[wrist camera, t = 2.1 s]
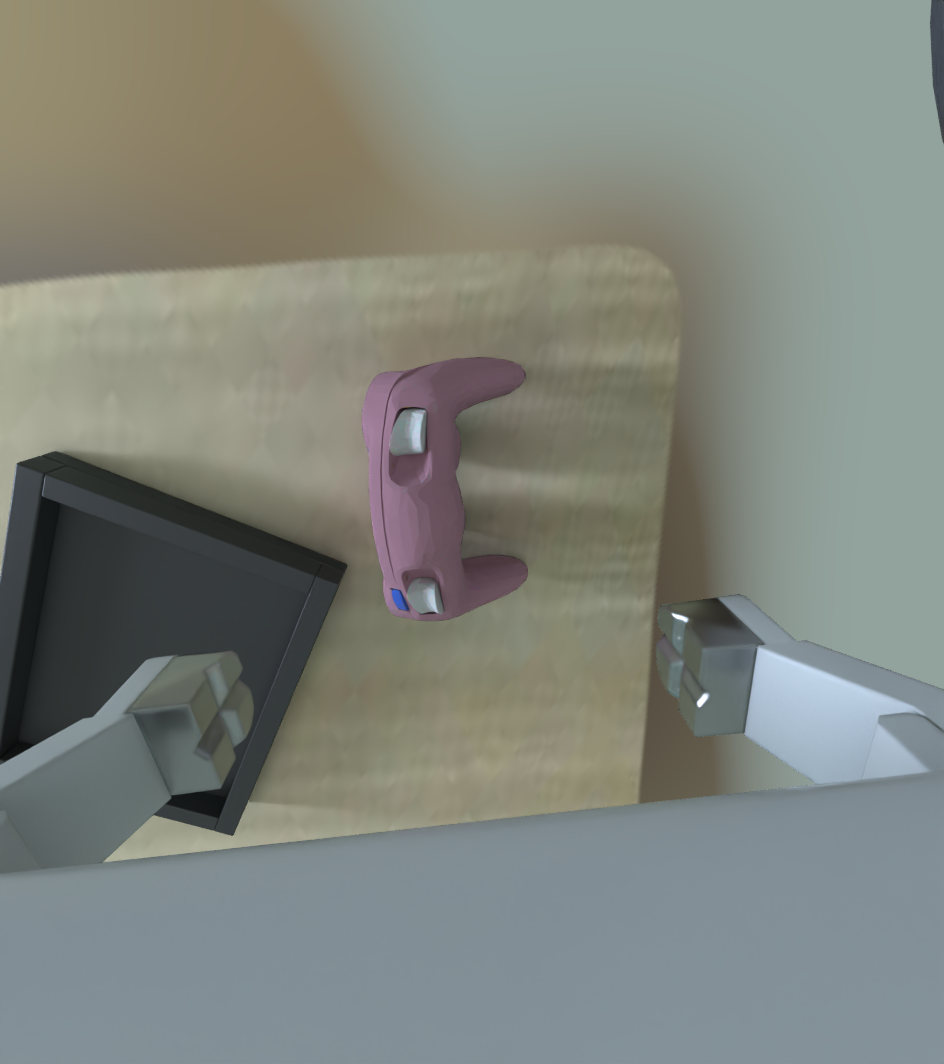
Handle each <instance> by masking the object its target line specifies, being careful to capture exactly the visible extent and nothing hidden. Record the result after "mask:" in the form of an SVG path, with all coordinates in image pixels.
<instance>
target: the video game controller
mask: <svg viewBox="0 0 944 1064" xmlns="http://www.w3.org/2000/svg"><path fill="white" fill-rule="evenodd" d="M525 378H526V373H525V370H524V369H523V368H522V367H521V365H519V364H516V363H514V362H512V361H508V360H503V359H495V358H483V357H477V358H465V359H451V360H446V361H441V362H437V363H433V364H430V365H426V366H422V367H418V368H415V369H411V370H407V371H396V372H384V373H381V374H379V375H377V376H376V377H375V378H374V379H373V381H372V382H371V384H370V386H369V388H368V391H367V393H366V397H365V402H364V406H363V410H362V430H363V435H364V439H365V443H366V446H367V450H368V452H369V497H370V508H371V518H372V528H373V533H374V538H375V543H376V549H377V554H378V558H379V562H380V566H381V570H382V573H383V575H384V580H383V594H384V598H385V602H386V605H387V607H388V609H389V610H390V612H391V613H392V614H394V615H395V616H398V617H403V618H409V619H415V620H419V621H443V620H449V619H452V618H455V617H458V616H460V615H462V614H465V613H467V612H469V611H471V610H473V609H475V608H477V607H480V606H482V605H484V604H487V603H489V602H491V601H493V600H496V599H498V598H500V597H503V596H505V595H507V594H509V593H511V592H513V591H514V590H516V589H517V588H518V587H519V586H520V585H521V584H522V583H523V582H524V581H525V580H526V578H527V575H528V567H527V565H526V564H525V563H524V562H522V561H521V560H520V559H517V558H514V557H508V556H504V555H486V556H480V557H473V558H467V559H462V558H461V543H462V538H463V534H464V530H465V510H464V507H463V502H462V497H461V492H460V488H459V485H458V481H457V478H456V474H455V471H456V469H457V467H458V464H459V458H460V447H461V442H460V434H459V431H458V429H457V427H456V425H455V419H456V417H457V415H458V414H459V413H460V412H461V411H463V410H465V409H467V408H469V407H471V406H473V405H475V404H477V403H480V402H483V401H487V400H490V399H493V398H497V397H500V396H503V395H506V394H509V393H511V392H512V391H514V390H515V389H516V388H518V387H519V386H520V385H521V384H522V383H523V381H524V380H525Z"/></svg>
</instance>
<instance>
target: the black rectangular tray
mask: <svg viewBox="0 0 944 1064" xmlns="http://www.w3.org/2000/svg"><path fill="white" fill-rule="evenodd" d="M346 568H347V564H345V563H342V562H340V561H337V560H334V559H332V558H329V557H327V556H324V555H322V554H319V553H316V552H314V551H311V550H309V549H306V548H304V547H301V546H298V545H296V544H293V543H291V542H288V541H286V540H283V539H280V538H278V537H275V536H273V535H270V534H268V533H265V532H262V531H260V530H257V529H255V528H252V527H249V526H247V525H244V524H242V523H239V522H237V521H234V520H231V519H229V518H226V517H224V516H221V515H219V514H216V513H213V512H211V511H208V510H206V509H203V508H201V507H198V506H195V505H193V504H190V503H188V502H185V501H183V500H180V499H177V498H175V497H172V496H170V495H167V494H165V493H162V492H159V491H157V490H154V489H152V488H149V487H147V486H144V485H141V484H139V483H136V482H134V481H131V480H129V479H126V478H123V477H121V476H118V475H116V474H113V473H111V472H108V471H105V470H103V469H100V468H98V467H95V466H93V465H90V464H87V463H85V462H82V461H80V460H77V459H74V458H72V457H69V456H67V455H64V454H62V453H59V452H56V451H54V452H51V453H48V454H44V455H42V456H38V457H35V458H32V459H28V460H25V461H22V462H19V463H17V464H16V469H15V476H14V484H13V491H12V498H11V505H10V512H9V519H8V526H7V533H6V540H5V548H4V555H3V562H2V569H1V576H0V765H1V764H3V763H5V762H6V761H8V760H10V759H12V758H14V757H15V756H17V755H19V754H21V753H23V752H24V751H26V750H28V749H30V748H31V747H33V746H35V745H37V744H39V743H40V742H42V741H44V740H46V739H48V738H49V737H51V736H53V735H55V734H57V733H58V732H60V731H62V730H64V729H66V728H67V727H69V726H71V725H73V724H75V723H76V722H78V721H80V720H82V719H83V718H91V717H93V716H94V715H95V714H96V713H97V712H98V711H99V710H100V709H101V708H102V707H103V706H104V705H105V704H106V703H107V701H108V700H109V699H110V698H111V697H112V696H113V695H114V694H115V693H116V692H117V691H118V690H119V689H120V688H121V686H122V685H123V684H124V683H125V682H126V681H127V680H128V679H129V678H130V677H131V676H132V675H133V674H134V672H135V671H136V670H137V669H138V668H139V667H140V666H141V665H142V664H143V663H144V662H145V661H146V660H148V659H151V658H155V657H163V656H171V655H183V654H194V653H206V652H217V651H229V650H231V651H233V652H235V653H236V654H238V657H239V659H240V662H241V664H242V667H243V670H242V672H241V674H240V676H239V678H238V679H239V680H240V681H242V682H243V683H244V684H246V685H247V686H248V687H249V688H250V691H251V694H252V697H253V705H254V714H253V720H252V726H251V728H250V730H249V732H248V735H247V737H246V738H245V739H244V740H243V741H242V742H240V743H239V744H238V745H237V746H235V747H234V748H233V750H234V753H235V756H236V759H235V761H234V763H233V765H232V767H231V769H230V771H229V773H228V775H227V777H226V779H225V781H224V783H223V785H222V787H221V789H215V790H207V791H200V792H193V793H186V794H178V795H171V799H170V800H169V801H168V802H167V803H165V804H164V805H163V806H162V807H161V808H160V809H159V810H158V811H157V812H156V813H155V814H154V815H156V816H160V817H163V818H167V819H171V820H175V821H179V822H182V823H186V824H190V825H194V826H198V827H202V828H205V829H209V830H215V831H216V832H220V833H224V834H228V835H231V836H233V835H234V833H235V830H236V828H237V826H238V823H239V821H240V819H241V816H242V814H243V812H244V809H245V807H246V805H247V802H248V800H249V798H250V795H251V793H252V790H253V788H254V786H255V783H256V781H257V779H258V776H259V774H260V772H261V769H262V767H263V764H264V762H265V760H266V757H267V755H268V753H269V750H270V748H271V746H272V743H273V741H274V738H275V736H276V734H277V731H278V729H279V727H280V724H281V722H282V719H283V717H284V715H285V712H286V710H287V708H288V705H289V703H290V701H291V698H292V696H293V693H294V691H295V689H296V686H297V684H298V682H299V679H300V677H301V674H302V672H303V670H304V667H305V665H306V663H307V660H308V658H309V656H310V653H311V651H312V648H313V646H314V644H315V641H316V639H317V637H318V634H319V632H320V629H321V627H322V625H323V622H324V620H325V618H326V615H327V613H328V611H329V608H330V606H331V603H332V601H333V599H334V596H335V594H336V592H337V589H338V587H339V585H340V582H341V580H342V577H343V575H344V573H345V570H346Z"/></svg>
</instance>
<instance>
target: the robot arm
mask: <svg viewBox="0 0 944 1064" xmlns="http://www.w3.org/2000/svg"><path fill="white" fill-rule="evenodd" d="M657 621H658V622H657V624H658V626H659V627H660V629H661V630H662V632H663V633H664V635H663V636H662V637H661V638H660V640H659V641H658V642H657V643H656V661H657V667H658V673H659V675H660V678H661V680H662V683H663V685H664V686H665V688H666V690H667V692H668V693H670V694H672V695H674V696H675V697H677V698H679V711H680V713H681V714H682V716H683V718H684V719H685V721H686V723H687V724H688V726H689V727H690V729H691V731H692V732H693V734H694V735H695V737H702V736H715V735H727V734H739V733H745V736H747V737H748V738H749V739H751V740H752V741H754V742H755V743H757V744H758V745H759V746H761V747H762V748H764V749H766V750H767V751H768V752H770V753H771V754H773V755H774V756H776V757H777V758H779V759H780V760H781V761H783V762H785V763H786V764H787V765H789V766H790V767H792V768H793V769H795V770H796V771H798V772H799V773H801V774H802V775H804V776H806V777H807V778H808V779H810V780H811V781H813V782H814V783H815V784H814V785H805V786H797V787H788V788H779V789H770V790H762V791H753V792H744V793H735V794H725V795H717V796H707V797H697V798H688V799H679V800H670V801H660V802H652V803H642V804H633V805H623V806H614V807H605V808H596V809H586V810H577V811H568V812H559V813H549V814H540V815H531V816H522V817H512V818H503V819H494V820H485V821H476V822H467V823H458V824H449V825H440V826H431V827H422V828H413V829H404V830H395V831H386V832H377V833H368V834H359V835H350V836H341V837H332V838H323V839H314V840H305V841H296V842H287V843H278V844H269V845H259V846H250V847H241V848H232V849H223V850H214V851H205V852H195V853H186V854H177V855H168V856H159V857H150V858H141V859H131V860H122V861H113V862H104V863H102V862H103V861H104V860H105V859H106V858H108V857H109V856H110V855H111V854H112V853H113V852H114V851H115V850H116V849H117V848H118V847H119V846H120V845H121V844H123V843H124V842H125V841H126V840H127V839H128V838H129V837H130V836H131V835H132V834H133V833H134V832H135V831H136V830H138V829H139V828H140V827H141V826H142V825H143V824H144V823H145V822H146V821H147V820H148V819H149V818H150V817H152V816H153V815H154V814H155V813H156V812H157V811H158V810H159V809H160V808H161V807H162V806H163V805H164V804H165V803H167V802H168V801H169V800H170V799H171V795H178V794H186V793H193V792H200V791H207V790H215V789H221V787H222V785H223V783H224V781H225V779H226V777H227V775H228V773H229V771H230V769H231V767H232V765H233V763H234V761H235V759H236V756H235V753H234V750H233V748H234V747H235V746H237V745H238V744H239V743H240V742H242V741H243V740H244V739H245V738H246V737H247V735H248V732H249V730H250V728H251V726H252V720H253V714H254V705H253V697H252V694H251V691H250V688H249V687H248V686H247V685H246V684H244V683H243V682H242V681H240V680H239V679H238V678H239V676H240V674H241V672H242V670H243V667H242V664H241V662H240V659H239V657H238V654H236V653H235V652H233V651H231V650H229V651H217V652H206V653H194V654H183V655H171V656H163V657H155V658H151V659H148V660H146V661H145V662H144V663H143V664H142V665H141V666H140V667H139V668H138V669H137V670H136V671H135V672H134V674H133V675H132V676H131V677H130V678H129V679H128V680H127V681H126V682H125V683H124V684H123V685H122V686H121V688H120V689H119V690H118V691H117V692H116V693H115V694H114V695H113V696H112V697H111V698H110V699H109V700H108V701H107V703H106V704H105V705H104V706H103V707H102V708H101V709H100V710H99V711H98V712H97V713H96V714H95V715H94V716H93V717H91V718H83V719H82V720H80V721H78V722H76V723H75V724H73V725H71V726H69V727H67V728H66V729H64V730H62V731H60V732H58V733H57V734H55V735H53V736H51V737H49V738H48V739H46V740H44V741H42V742H40V743H39V744H37V745H35V746H33V747H31V748H30V749H28V750H26V751H24V752H23V753H21V754H19V755H17V756H15V757H14V758H12V759H10V760H8V761H6V762H5V763H3V764H1V765H0V1064H944V689H941V688H938V687H935V686H933V685H930V684H927V683H924V682H921V681H918V680H916V679H913V678H910V677H907V676H904V675H902V674H899V673H896V672H893V671H891V670H888V669H885V668H882V667H879V666H877V665H874V664H870V663H868V662H865V661H862V660H860V659H857V658H854V657H851V656H848V655H846V654H843V653H840V652H837V651H834V650H832V649H829V648H826V647H823V646H820V645H817V644H815V643H812V642H809V641H796V640H795V639H794V638H793V637H792V636H791V635H789V634H788V633H787V632H786V631H785V630H784V629H783V628H781V627H780V626H779V625H778V624H777V623H776V622H775V621H773V620H772V619H771V618H770V617H769V616H768V615H767V614H766V613H764V612H763V611H762V610H761V609H760V608H759V607H758V606H756V605H755V604H754V603H753V602H752V601H751V600H750V599H748V598H747V597H746V596H743V595H740V594H737V595H730V596H723V597H716V598H711V599H703V600H696V601H688V602H680V603H673V604H665V605H660V609H659V612H658V620H657Z"/></svg>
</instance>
